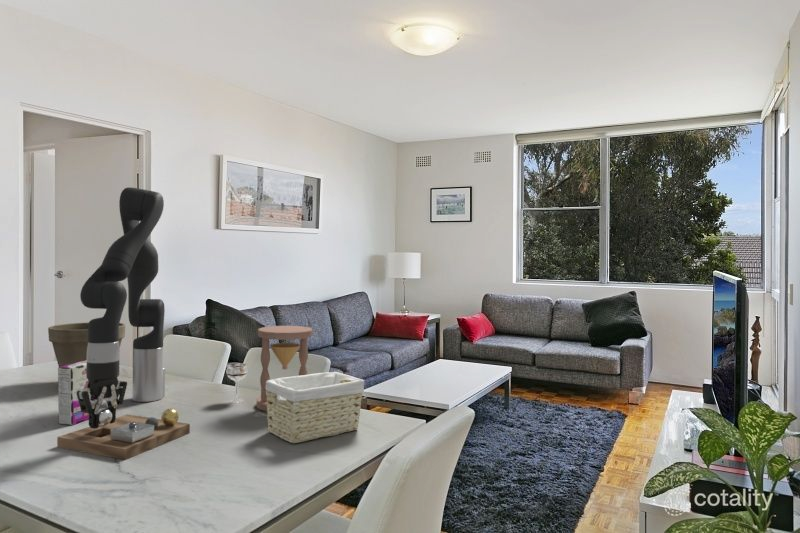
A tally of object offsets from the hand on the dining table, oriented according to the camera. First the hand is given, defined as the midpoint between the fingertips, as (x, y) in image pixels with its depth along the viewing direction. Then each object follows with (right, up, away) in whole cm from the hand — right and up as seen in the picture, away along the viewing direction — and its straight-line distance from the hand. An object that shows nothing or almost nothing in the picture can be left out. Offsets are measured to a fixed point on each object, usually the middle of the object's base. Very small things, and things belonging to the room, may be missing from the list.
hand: (102, 425), depth 146 cm
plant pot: (-38, -2, +62) cm, 73 cm away
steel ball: (0, 0, 0) cm, 0 cm away
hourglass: (+39, -5, +39) cm, 55 cm away
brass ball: (+14, -2, +8) cm, 16 cm away
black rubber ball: (+11, -2, +3) cm, 12 cm away
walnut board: (+5, -4, +3) cm, 7 cm away
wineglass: (+22, -4, +43) cm, 49 cm away
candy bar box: (-17, -4, +19) cm, 26 cm away
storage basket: (+53, -6, +13) cm, 54 cm away
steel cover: (+9, -2, -3) cm, 10 cm away
